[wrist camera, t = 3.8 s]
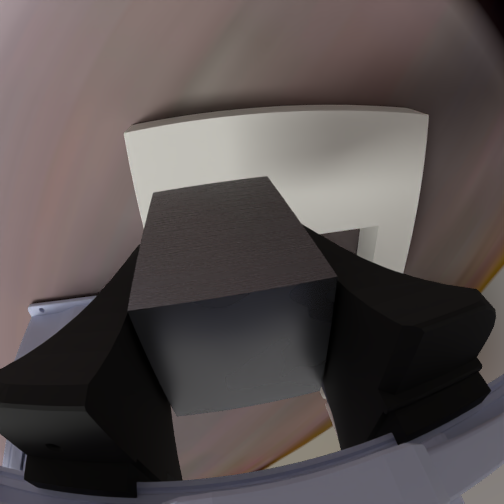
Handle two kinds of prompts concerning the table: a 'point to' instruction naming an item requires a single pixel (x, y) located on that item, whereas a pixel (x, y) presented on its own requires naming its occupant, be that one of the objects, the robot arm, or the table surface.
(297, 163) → the slot board
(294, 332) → the pin
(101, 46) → the table surface
